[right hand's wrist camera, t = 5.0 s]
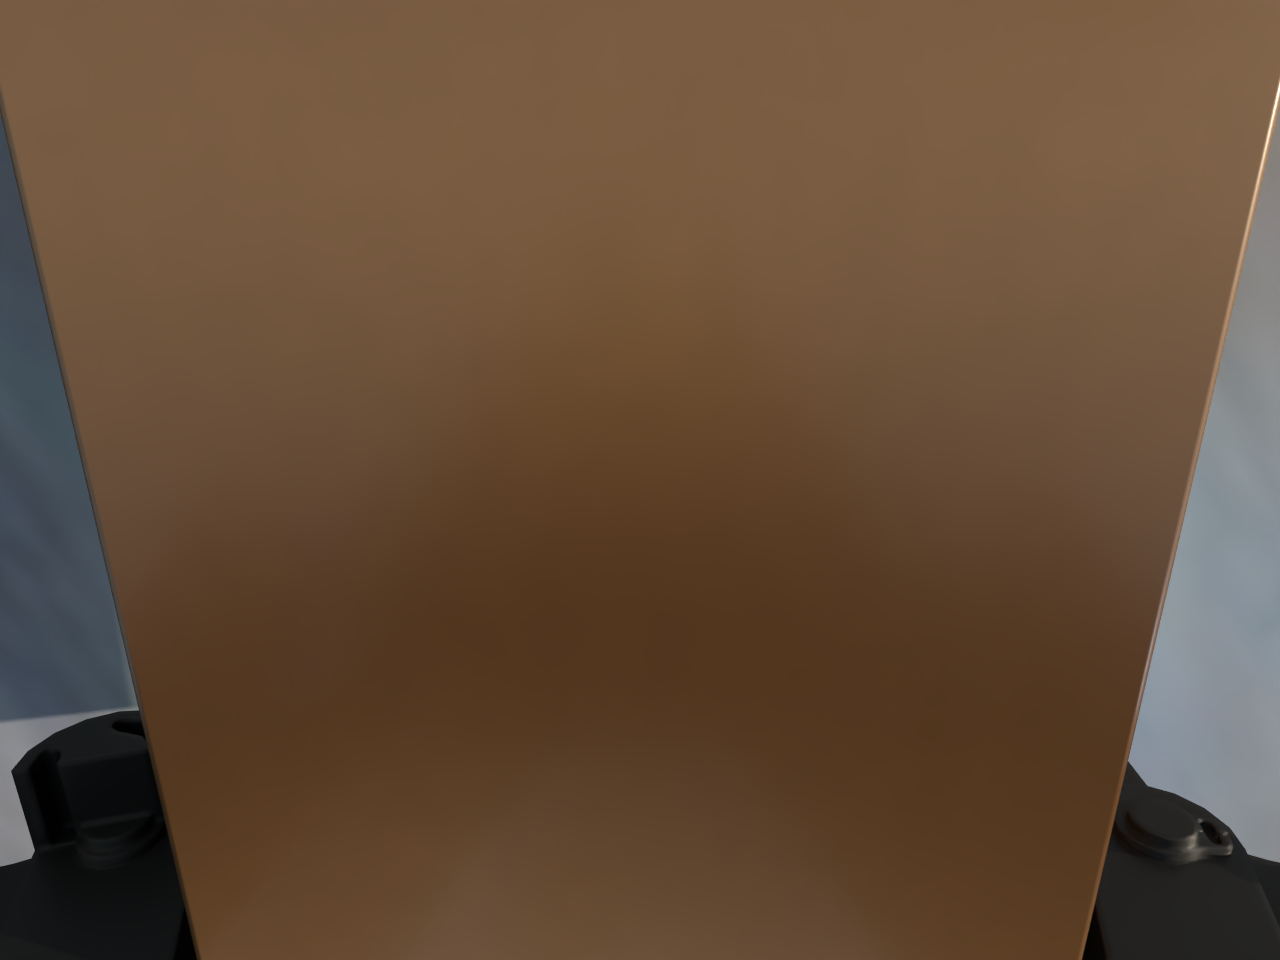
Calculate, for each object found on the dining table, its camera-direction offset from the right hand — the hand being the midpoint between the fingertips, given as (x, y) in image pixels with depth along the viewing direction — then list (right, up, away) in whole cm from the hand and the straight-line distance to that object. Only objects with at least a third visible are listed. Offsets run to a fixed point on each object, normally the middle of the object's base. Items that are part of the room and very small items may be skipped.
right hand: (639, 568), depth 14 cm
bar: (0, +7, -2) cm, 8 cm away
